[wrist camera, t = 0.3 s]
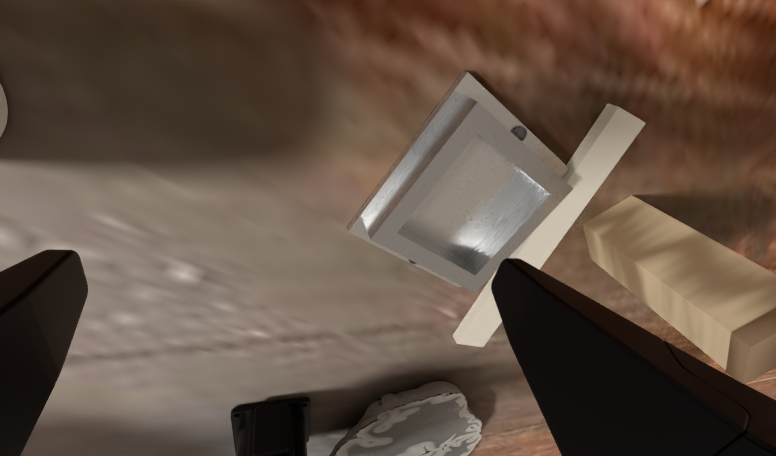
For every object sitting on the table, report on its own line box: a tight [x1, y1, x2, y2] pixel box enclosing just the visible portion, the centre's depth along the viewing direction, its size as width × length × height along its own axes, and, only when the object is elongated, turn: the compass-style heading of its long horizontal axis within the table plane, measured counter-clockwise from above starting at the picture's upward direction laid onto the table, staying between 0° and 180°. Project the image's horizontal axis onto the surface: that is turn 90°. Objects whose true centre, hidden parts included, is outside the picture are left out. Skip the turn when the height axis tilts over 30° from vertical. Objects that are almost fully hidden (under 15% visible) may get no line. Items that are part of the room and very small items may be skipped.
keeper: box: [347, 70, 573, 293], centre depth 24 cm, size 12×11×3 cm
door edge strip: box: [453, 103, 646, 347], centre depth 29 cm, size 22×3×1 cm, turn 156°
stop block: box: [583, 195, 776, 384], centre depth 26 cm, size 5×5×13 cm
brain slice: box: [329, 381, 482, 456], centre depth 39 cm, size 20×17×3 cm
